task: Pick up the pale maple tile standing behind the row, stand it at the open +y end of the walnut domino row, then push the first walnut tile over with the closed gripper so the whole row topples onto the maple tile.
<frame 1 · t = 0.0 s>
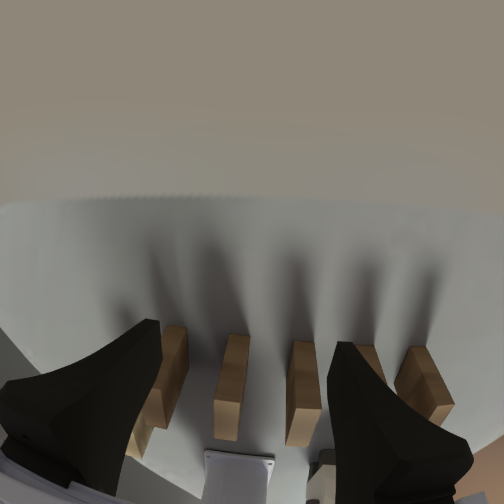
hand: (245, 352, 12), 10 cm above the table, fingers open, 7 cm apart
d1: (409, 366, 25), on the table
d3: (299, 362, 25), on the table
d4: (238, 356, 25), on the table
maple tile: (152, 388, 28), on the table
giant panda: (357, 459, 31), on the table
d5: (178, 347, 25), on the table
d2: (357, 365, 25), on the table
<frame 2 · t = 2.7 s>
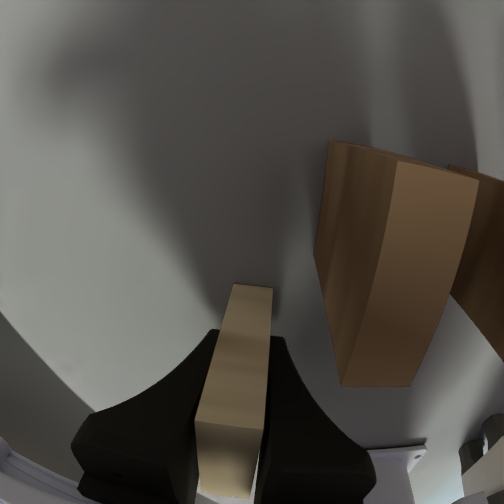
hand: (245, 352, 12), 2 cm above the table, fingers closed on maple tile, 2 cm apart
d4: (454, 220, 11), on the table
maple tile: (249, 329, 14), on the table, touching gripper
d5: (342, 202, 12), on the table
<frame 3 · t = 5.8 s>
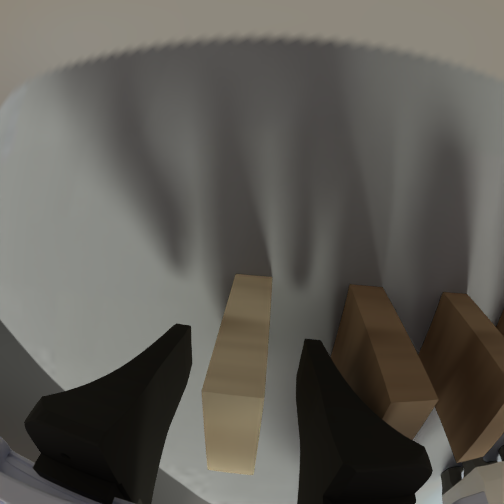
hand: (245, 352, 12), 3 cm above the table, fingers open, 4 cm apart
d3: (503, 329, 14), on the table
d4: (441, 329, 14), on the table
maple tile: (251, 317, 15), on the table
giant panda: (488, 456, 20), on the table
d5: (355, 326, 15), on the table
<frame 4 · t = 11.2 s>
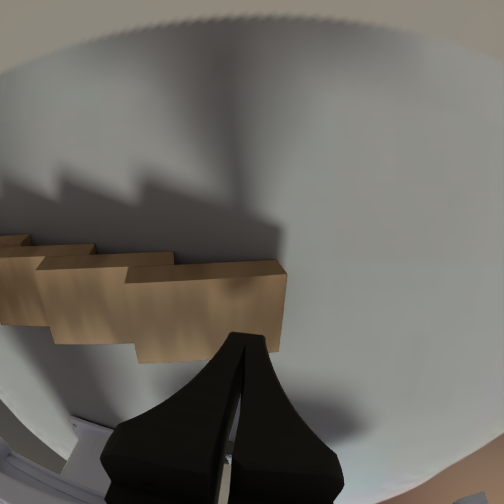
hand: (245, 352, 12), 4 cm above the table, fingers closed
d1: (277, 307, 16), point 1 cm above the table, tilted 72°
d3: (97, 285, 16), point 1 cm above the table, tilted 71°, touching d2
d4: (31, 271, 16), point 1 cm above the table, tilted 71°
giant panda: (268, 460, 23), on the table
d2: (175, 297, 16), point 1 cm above the table, tilted 71°, touching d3
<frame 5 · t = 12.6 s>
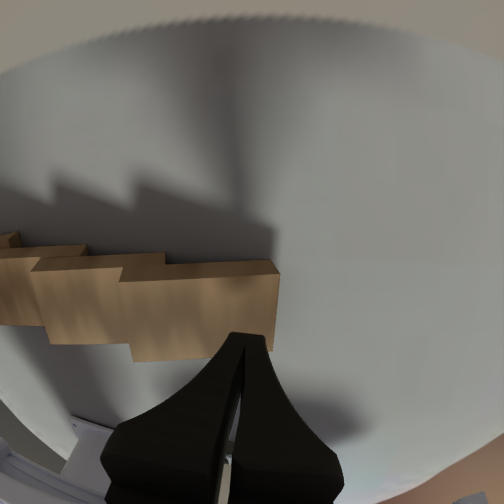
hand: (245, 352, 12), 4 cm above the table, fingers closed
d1: (271, 306, 16), point 1 cm above the table, tilted 72°, touching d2
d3: (89, 285, 16), point 1 cm above the table, tilted 72°, touching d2, d4
d4: (22, 267, 16), point 1 cm above the table, tilted 71°, touching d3, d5
giant panda: (268, 460, 23), on the table
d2: (168, 297, 16), point 1 cm above the table, tilted 71°, touching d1, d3
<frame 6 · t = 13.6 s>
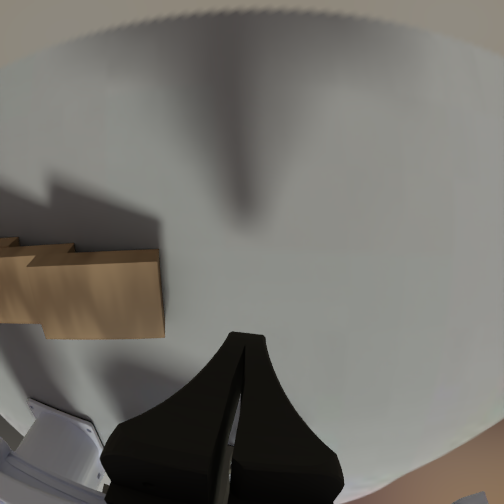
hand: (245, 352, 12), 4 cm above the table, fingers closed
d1: (161, 294, 16), point 1 cm above the table, tilted 72°, touching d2
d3: (20, 273, 17), point 1 cm above the table, tilted 72°, touching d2, d4
giant panda: (203, 452, 23), on the table
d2: (76, 283, 16), point 1 cm above the table, tilted 71°, touching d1, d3
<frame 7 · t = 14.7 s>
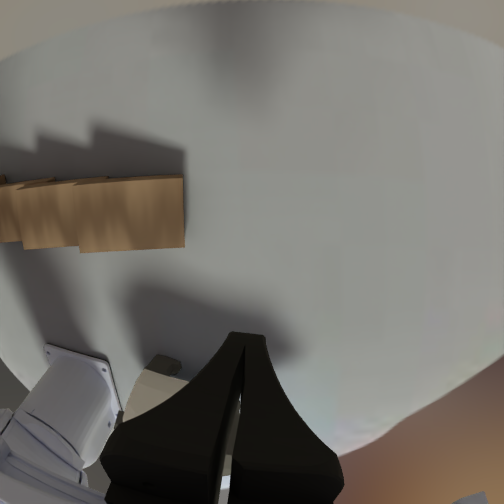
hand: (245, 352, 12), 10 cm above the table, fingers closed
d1: (183, 210, 20), point 1 cm above the table, tilted 73°, touching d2
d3: (54, 207, 21), point 1 cm above the table, tilted 73°, touching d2, d4
d4: (5, 200, 21), point 1 cm above the table, tilted 74°, touching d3, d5
giant panda: (213, 386, 27), on the table
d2: (108, 209, 20), point 1 cm above the table, tilted 72°, touching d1, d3
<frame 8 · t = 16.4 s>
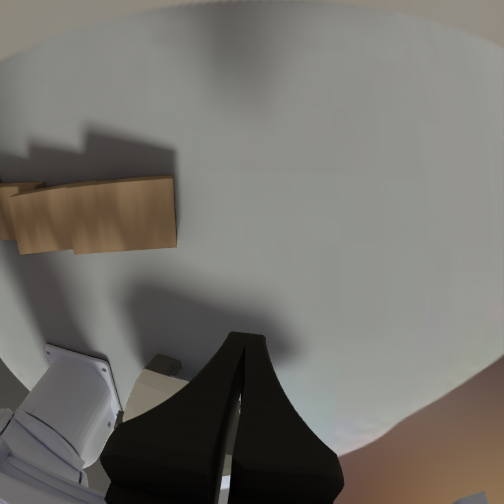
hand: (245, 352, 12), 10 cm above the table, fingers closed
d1: (174, 210, 20), point 1 cm above the table, tilted 73°, touching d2
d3: (41, 211, 21), point 1 cm above the table, tilted 79°, touching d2
giant panda: (213, 386, 27), on the table
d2: (98, 212, 21), point 1 cm above the table, tilted 73°, touching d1, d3
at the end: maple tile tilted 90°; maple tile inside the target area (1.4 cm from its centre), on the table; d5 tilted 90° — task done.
